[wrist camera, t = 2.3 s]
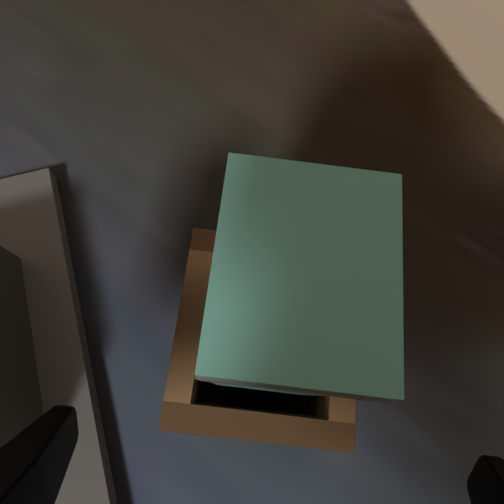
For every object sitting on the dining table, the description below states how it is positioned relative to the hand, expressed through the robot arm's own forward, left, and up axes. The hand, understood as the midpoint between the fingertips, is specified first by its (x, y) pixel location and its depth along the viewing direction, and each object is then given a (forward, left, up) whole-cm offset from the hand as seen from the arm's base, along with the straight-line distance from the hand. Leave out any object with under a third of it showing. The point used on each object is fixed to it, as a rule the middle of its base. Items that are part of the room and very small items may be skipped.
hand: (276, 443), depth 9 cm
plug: (+3, +2, -10) cm, 11 cm away
